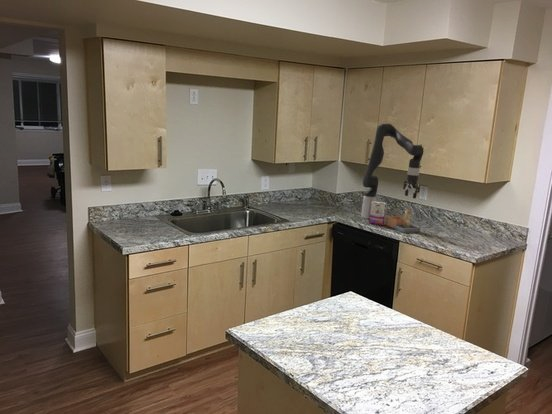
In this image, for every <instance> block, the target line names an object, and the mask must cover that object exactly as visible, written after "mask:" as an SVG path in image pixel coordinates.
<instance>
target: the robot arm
mask: <svg viewBox="0 0 552 414" xmlns="http://www.w3.org/2000/svg"><path fill="white" fill-rule="evenodd" d="M385 137H391V138H393V139H394V140H395V141H396V144H397V145H398V146H400V147H401V148H402V149H404V150H405V151H406V152H407V154H409V155H410V156H413V157H412V158H410V159H409V162H408V168H407V174H406V175H407V176H406V180H404V181H403V187H402V189H403V190H404V196H405V197H408V196H409V190H412V192H413V193H412V199H416V198H417V196H418V195H417V194H418V193H420V190H421V189H420V188H421V184H420V183H418V182H419V176H420V165H421V163H420V162H421V160H422V158H423V155H424V151H425V149H424V147H423V146H422V145H420V144H413V141H412V140H411V139H409V138H408V137H406V136H405V135H403V134H402V133H401V132H400V131H399V130H398V129H397V128H396V127H395V126H394V125H392V124H391V123H388V122H387V123H380V124H379V125H377V128H376V131H375V137H374V142H373V147H372V149H371V154H370V157H369V160H368V161H369V162H368V165H367V167H366V170H365V173H364V175H363V179H362V185H363V187H364V188H368V189H367V190H366V191H364V192H363V201H362V204H361V214H360V216H361V218H363V219H369V220H370V209H371V202H372V201H375V202H376V196H377V193H378V188H379V187H378V186H379V178H378V176H376V175H373V173H374V172H375V171H376V169H377V168H379V166H380V165H381V164H382V162H383V159H384V156H385V150H384V147H383V144H384V143H383V142H384V138H385Z"/></svg>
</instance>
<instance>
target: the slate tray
mask: <svg viewBox="0 0 552 414" xmlns="http://www.w3.org/2000/svg"><path fill="white" fill-rule="evenodd" d="M392 229H393V230H395V231H397V232H400V233H402V234H408V233H409V234H411V233H420V227H418V226H415V225H413V224H411V223H410V227H409V228H404V224H403V225H394V228H392Z"/></svg>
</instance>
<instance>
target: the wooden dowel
mask: <svg viewBox="0 0 552 414" xmlns="http://www.w3.org/2000/svg"><path fill="white" fill-rule="evenodd" d="M411 217H412V209H409V208H408V209H407V208H406V209H405V213H404V218H405V219H404V228H409V227H410V224H411Z"/></svg>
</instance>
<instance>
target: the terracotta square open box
mask: <svg viewBox="0 0 552 414" xmlns="http://www.w3.org/2000/svg"><path fill="white" fill-rule="evenodd" d="M404 219H405V217H402V216H398V215H397V216H387V218H386V220H387V222H386V226H387V227H390V228H392V229H393V228H394V225H403V224H404Z"/></svg>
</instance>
